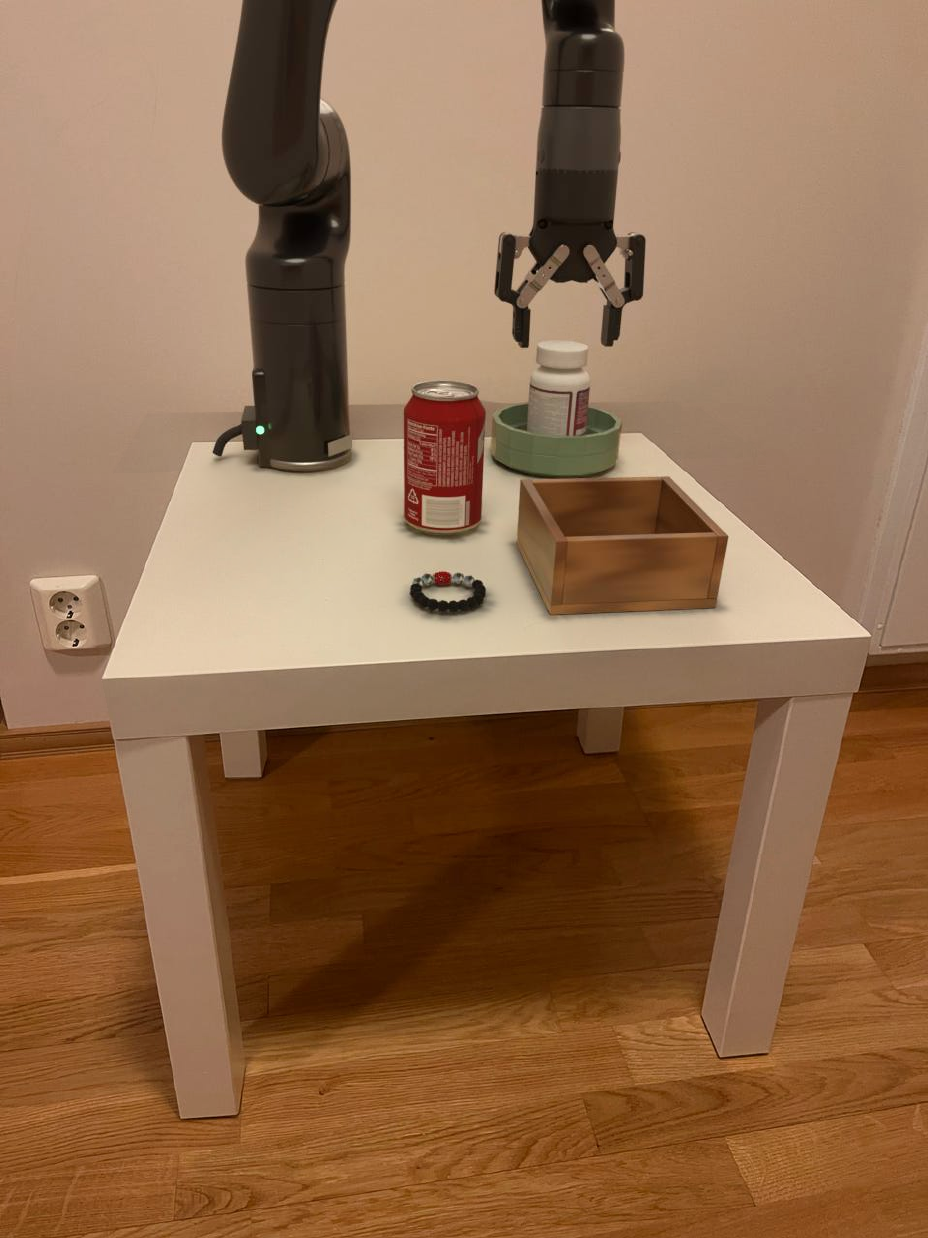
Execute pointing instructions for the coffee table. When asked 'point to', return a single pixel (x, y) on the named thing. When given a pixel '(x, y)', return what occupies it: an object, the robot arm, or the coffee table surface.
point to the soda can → (443, 457)
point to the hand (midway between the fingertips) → (564, 345)
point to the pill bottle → (559, 389)
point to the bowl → (555, 444)
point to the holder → (618, 545)
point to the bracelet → (447, 578)
